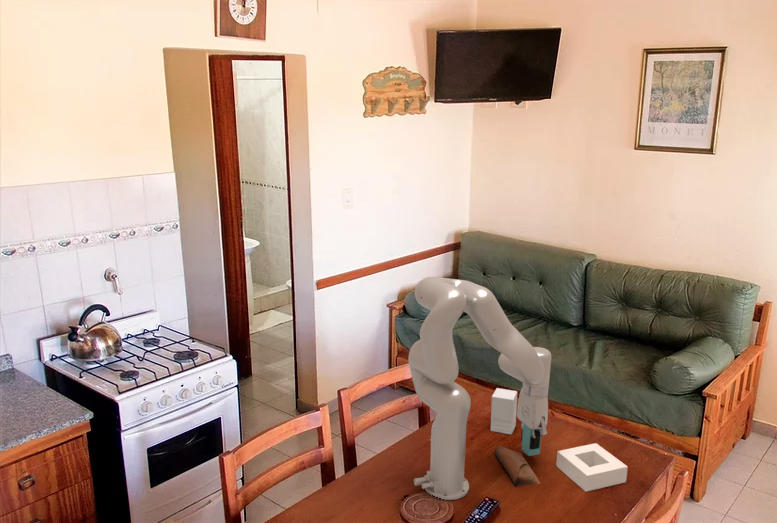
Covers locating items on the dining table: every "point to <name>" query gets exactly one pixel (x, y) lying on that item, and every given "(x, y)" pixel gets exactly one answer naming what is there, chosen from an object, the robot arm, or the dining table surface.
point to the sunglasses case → (516, 467)
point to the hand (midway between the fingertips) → (530, 444)
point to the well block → (595, 477)
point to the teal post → (528, 441)
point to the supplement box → (503, 411)
